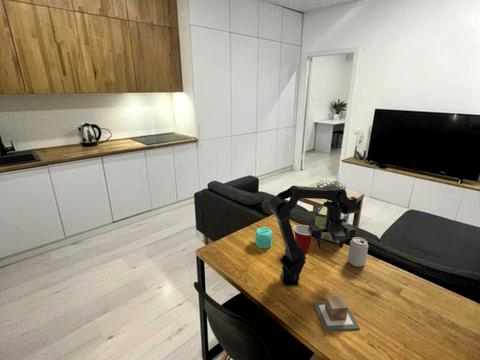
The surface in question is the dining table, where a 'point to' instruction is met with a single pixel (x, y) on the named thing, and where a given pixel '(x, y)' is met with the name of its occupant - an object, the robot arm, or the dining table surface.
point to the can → (358, 251)
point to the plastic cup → (302, 237)
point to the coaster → (335, 325)
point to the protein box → (321, 220)
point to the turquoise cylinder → (263, 238)
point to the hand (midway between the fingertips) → (329, 248)
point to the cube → (336, 308)
